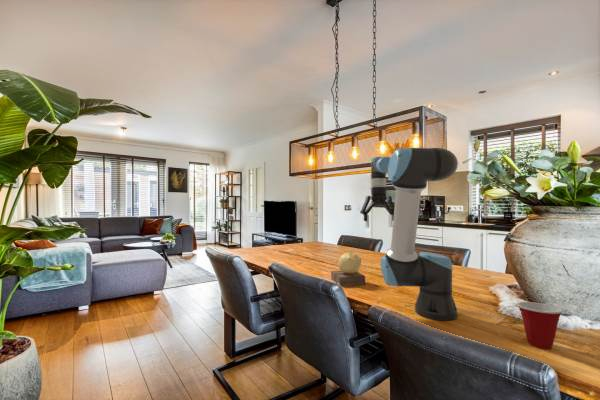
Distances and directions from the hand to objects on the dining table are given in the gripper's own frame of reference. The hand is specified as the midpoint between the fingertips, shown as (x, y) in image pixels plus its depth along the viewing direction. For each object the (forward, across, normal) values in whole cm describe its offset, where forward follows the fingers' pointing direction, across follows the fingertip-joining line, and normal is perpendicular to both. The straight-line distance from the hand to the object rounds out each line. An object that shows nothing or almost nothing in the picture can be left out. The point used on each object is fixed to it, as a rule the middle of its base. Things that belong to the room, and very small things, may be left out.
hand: (378, 227), depth 148 cm
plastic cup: (+32, -17, +66) cm, 75 cm away
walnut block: (+31, +13, -11) cm, 35 cm away
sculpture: (+25, +12, -12) cm, 30 cm away
